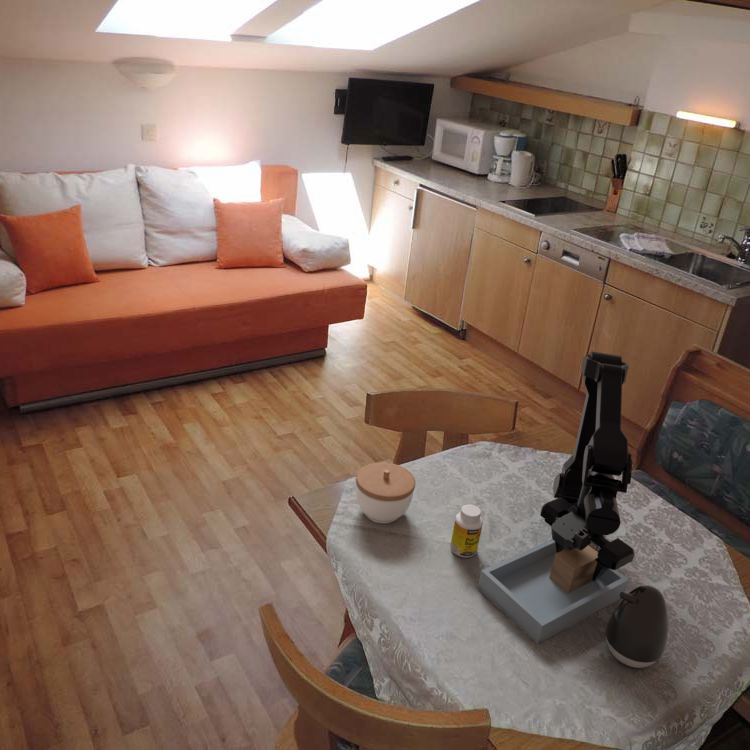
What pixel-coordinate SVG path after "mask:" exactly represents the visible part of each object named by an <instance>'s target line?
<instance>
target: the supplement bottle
mask: <svg viewBox="0 0 750 750" xmlns="http://www.w3.org/2000/svg"><path fill="white" fill-rule="evenodd" d="M481 513H482V511H481V509H480V508H479V506H476V505H474V504H464V505H463V506H462V507H461V509H460V512H458V513H457V514H456V516H455V519H454V524H453V530H452V535H451V541H450V549H451V552H452V553H453V554H454V555H456V556H458V557H460V558H467V559H468V558H471V557H474V556H475V555H476V554H477V552H478V548H479V543H480V539H481V538H480V537H481V534H482V528H483V524H484V521H483V517H481Z"/></svg>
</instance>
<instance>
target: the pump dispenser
mask: <svg viewBox="0 0 750 750" xmlns="http://www.w3.org/2000/svg"><path fill="white" fill-rule="evenodd" d="M619 596H620V598H621V600H620V602H619V603H618V604H617V606H615V608H614V610H613V611H612V613H611V615H610V617H609V619H608V621H607V622H606V625H605V629H604V630H605V631H604V633H605V637H606V638H605V639H606V643H607V646H608V649H609V651H610V653H611V654H612V655H613V657H614V658H615V659H616V660H617V661H619V662H620V663H622V664H623V665H626V666H628V667H631V668H636V669H637V668H638V669H642V668H647V667H649V666H651V665H653V664H654V663H656V662H657V661H658V660H660V659H661V658H662V657H663V656H664V654H665V651H666V647H667V643H668V637H669V629H670V626H669V625H670V622H669V621H670V620H669V612H668V605H667V602H666V599H665V597H664V594H663V593H662V592H661V591H660V590H659V589H658V588H656V587H655V586H652V585H648V584H642V585H640V586H637V587H635V588H633V589H632V590H630V591H629V592H628V593H627V592H625V593H624V592H621V593H620V594H619Z"/></svg>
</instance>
